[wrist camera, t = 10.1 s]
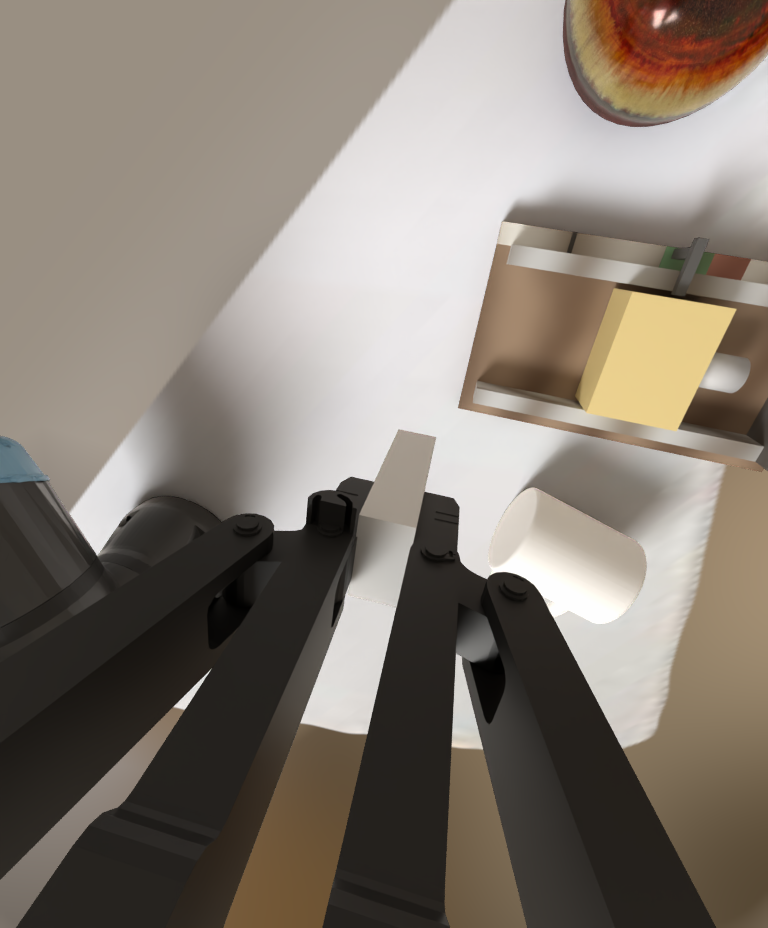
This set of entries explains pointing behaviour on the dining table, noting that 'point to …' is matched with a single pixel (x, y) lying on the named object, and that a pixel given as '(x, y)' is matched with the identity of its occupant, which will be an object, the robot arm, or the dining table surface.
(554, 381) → the bench
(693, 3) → the vase
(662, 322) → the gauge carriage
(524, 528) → the mug
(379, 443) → the dining table surface
